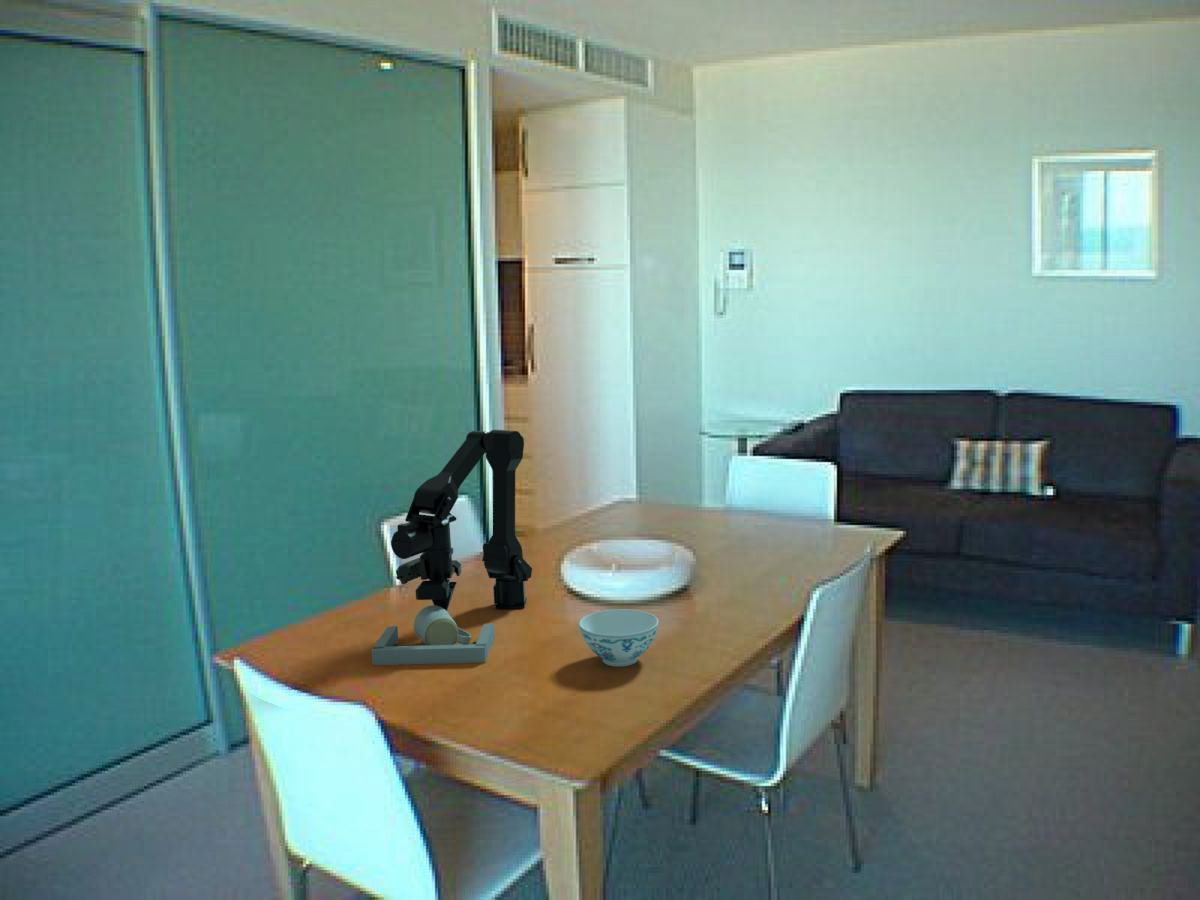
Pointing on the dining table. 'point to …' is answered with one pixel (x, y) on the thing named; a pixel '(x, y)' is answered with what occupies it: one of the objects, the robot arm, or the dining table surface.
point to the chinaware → (619, 634)
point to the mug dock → (431, 650)
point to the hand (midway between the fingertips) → (441, 619)
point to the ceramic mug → (438, 627)
